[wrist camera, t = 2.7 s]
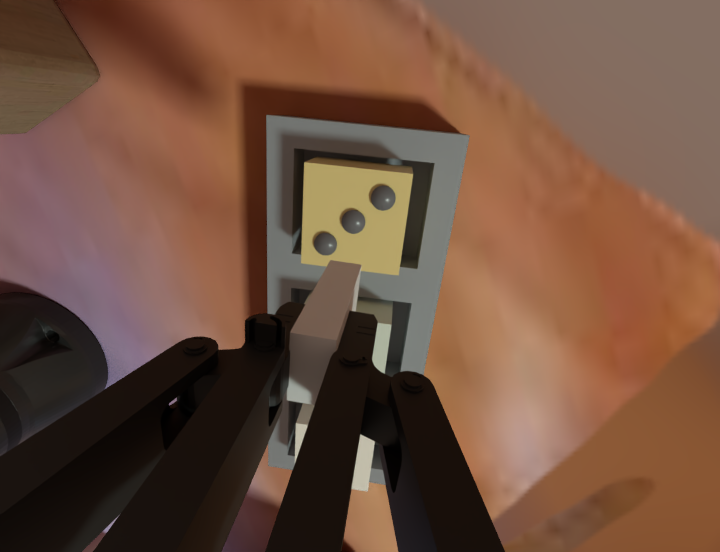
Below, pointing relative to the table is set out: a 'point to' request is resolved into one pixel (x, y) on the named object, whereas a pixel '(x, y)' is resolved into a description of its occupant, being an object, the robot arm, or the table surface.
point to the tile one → (363, 453)
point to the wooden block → (38, 63)
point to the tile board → (407, 291)
